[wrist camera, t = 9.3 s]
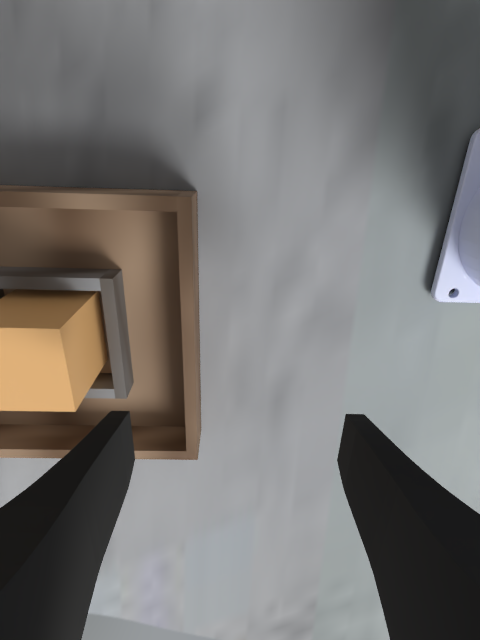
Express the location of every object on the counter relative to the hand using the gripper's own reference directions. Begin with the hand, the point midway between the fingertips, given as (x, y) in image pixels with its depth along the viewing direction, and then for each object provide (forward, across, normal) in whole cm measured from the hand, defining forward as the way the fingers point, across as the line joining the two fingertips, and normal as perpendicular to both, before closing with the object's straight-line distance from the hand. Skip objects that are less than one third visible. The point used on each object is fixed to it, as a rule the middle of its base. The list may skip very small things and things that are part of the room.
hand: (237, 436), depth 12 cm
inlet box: (+8, +9, 0) cm, 12 cm away
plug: (+8, +9, 0) cm, 12 cm away
